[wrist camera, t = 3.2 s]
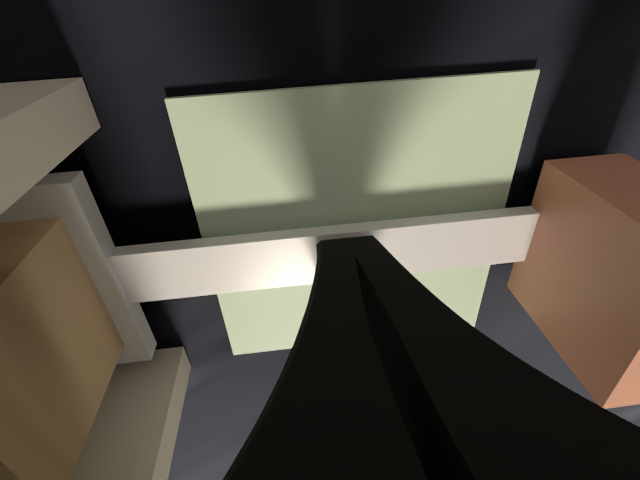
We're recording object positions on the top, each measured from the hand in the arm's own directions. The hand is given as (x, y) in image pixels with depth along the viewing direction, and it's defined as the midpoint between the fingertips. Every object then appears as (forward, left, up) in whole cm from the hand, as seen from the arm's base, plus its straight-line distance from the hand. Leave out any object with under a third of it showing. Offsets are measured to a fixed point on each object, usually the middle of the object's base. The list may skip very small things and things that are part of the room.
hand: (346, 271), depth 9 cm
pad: (0, 0, -1) cm, 1 cm away
